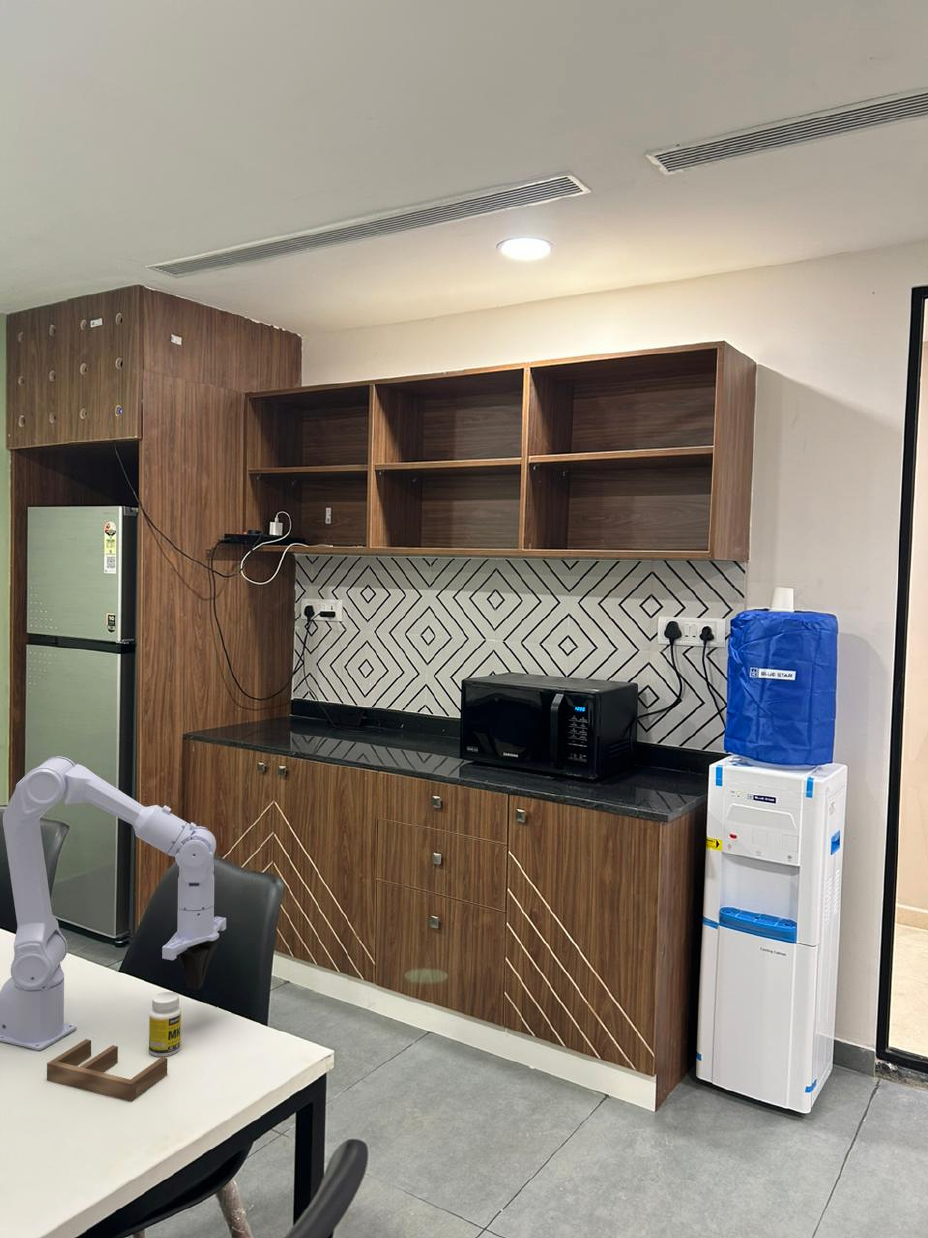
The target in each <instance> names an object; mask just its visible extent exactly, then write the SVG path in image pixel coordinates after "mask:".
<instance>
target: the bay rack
mask: <svg viewBox="0 0 928 1238" xmlns="http://www.w3.org/2000/svg"><path fill="white" fill-rule="evenodd" d="M90 1057H92V1040H91V1039H87V1038H85V1039H84V1040H82V1041H80V1042H78V1043H77V1044H76V1045H73V1047H71V1048H69V1049H68V1050H66V1051H64V1052H63V1053H61V1054H60V1055H58V1056H56V1057H55V1058H53V1059H51V1060H50V1061H47V1063H46V1081H48V1082H52V1083H57V1084H61V1085H64V1086H69V1087H71V1088H72V1087H73V1088H77V1089H80V1090H84V1091H88V1092H92V1093H96V1094H100V1095H103V1096H108V1097H111V1098H114V1099H118V1098H119V1100H121V1101H122V1100H124V1101H127V1102H130V1103H132V1102H133V1101H134V1100H136V1099H137V1098H138V1097H140V1096H141V1095H142V1094H144V1093H145V1092H146V1091H148V1090H149V1089H150V1088H152V1087H153V1086H154V1085H156V1083H158V1082H159V1081H161V1080H162V1079H163V1078H165V1077H166V1076H168V1057H166V1056H160V1057H159V1058H158V1059H157V1060H155V1061H154V1062H153V1063H151V1064H150V1065H148V1066H147V1067H145V1068H144V1069H143V1070H141V1071H140V1072H138V1074H136V1075H135V1076H133V1077H131V1078H130V1079H129V1078H125V1077H123V1076H118V1075H114V1074H109V1073H106V1072H107V1071H108V1070H109V1069H111V1068H112V1067H113V1066H116V1064H118V1063H119V1061H118V1060H119V1046H117V1045H113V1044H112V1045H111V1046H109V1047H107V1048H106V1049H105V1050H103V1051H101V1052H100V1053H98V1054H97V1055H96V1056H93V1057H92V1058H91V1059H89V1058H90ZM87 1059H89V1060H88V1061H86V1060H87ZM84 1061H86V1062H85V1063H83V1062H84ZM81 1063H83V1064H82V1065H80V1064H81ZM79 1065H80V1066H79Z"/></svg>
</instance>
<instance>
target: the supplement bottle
mask: <svg viewBox="0 0 928 1238" xmlns="http://www.w3.org/2000/svg"><path fill="white" fill-rule="evenodd" d="M151 999H152V1000H151V1001H152V1002H151V1007H152V1008H151V1009H150V1012H149V1018H148V1019H149V1021H148V1022H149V1024H148V1025H149V1026H148V1027H149V1028H148V1030H149V1031H148V1032H149V1033H148V1052H149V1054H151V1055H152V1056H155V1057H168V1056H169V1057H170V1056H173V1055H174V1054H176V1053H177V1052H178V1051H179V1050H180V1049H181V1037H182V1036H181V1034H182V1032H181V1030H182V1009H181V1006H180V996H179V994H178V993H177V992H175V991H174V992H172V991H164V992H160V993H157V994H155V995H154V996H153V997H152V998H151Z"/></svg>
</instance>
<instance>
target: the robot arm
mask: <svg viewBox="0 0 928 1238" xmlns="http://www.w3.org/2000/svg"><path fill="white" fill-rule="evenodd" d="M65 797H66V798H65ZM62 798H65V801H64V805H73V804H79V803H80V804H82V803H88V804H91V805H93V806H95V807H97V808H98V809H101V810H102V811H104V812H106V813H109V814H110V815H112V816H115V817H116V818H118V819H120V820H122V821H124V822H126V823H128V824H130V825H131V826H132V827H133V829H134V833H135V837H137V838H138V839H140V840H141V841H143V842H145V843H146V844H148V845H150V846H152V847H154V848H155V849H158V850H159V851H161V852H162V853H164V854H165V855H168V856H170V857H174V858H175V859H174V860H175V862H176V864H177V866H178V868H179V869H178V871H179V874H178V878H177V929H176V930H177V931H176V932H175V933H174V934H173V936H172V937H171V938H170V939H169V941H168V942H167V943H166V944H164V945H163V946H162V947H161V948H162V949H161V952H162V953H161V954H162V957H161V958H162V960H163V959H164V960H167V961H168V960H170V961H174V960H175V959H177V961H178V962H179V964H180V966H181V968H182V971H183V975H184V979H185V983H186V986H187V987H186V988H187V989H192V990H199V989H201V988H202V987H203V986H204V982H205V979H206V976H207V975H206V974H207V970H208V967H209V964H210V962H211V959H212V957H213V955H214V953H215V950H216V949H217V948H218V941H216V940H218V939H219V937H220V933H219V931H221V932H223V931H225V930H226V929H227V917H222V916H215V908H214V907H215V874H214V871H215V866H214V865H215V864H214V856H215V852H216V849H217V840H216V837H215V835H214V834H213V833H212V832H211V831H210V830H208V828H207V827H205V826H197V824H195V822H192V821H191V823H188V822H187V821H185V820H184V819H181V818H180V817H179V816H177V815H175V814H173V813H172V812H171V811H172V808H170V807H169V806H168V805H164V806H163V807H162V806H160V805H158V804H155V805H150V806H144V805H143V804H141V803H139V802H138V801H137V800H135V799H134V798H132V797H130V796H129V795H127V794H126V793H124V792H123V791H121V790H120V789H118V788H117V787H115V786H114V785H112V784H110V783H109V782H107V780H105V779H102V778H101V777H100V776H98V775H97V774H96V773H94V772H92V771H91V770H90V769H88V768H87V767H86V766H84V765H81V764H79V763H77V764H75V762H73V760H71V759H69V758H68V757H65V756H53V757H50V758H48V759H46V760H44V762H42V763H41V764H40V765H39V766H38V767H35V768H33V769H32V770H30V771H28V773H27V774H25V775H24V776H23V777H22V779H20V780H19V781H18V782H17V783H16V784H15V790H14V791H13V793H12V795H11V798H10V800H9V801H8V804H7V805H6V808H5V810H4V812H3V814H2V826H3V833H4V840H5V847H6V853H7V861H8V868H9V874H10V875H9V876H10V882H11V888H12V895H13V896H12V897H13V903H14V904H13V905H14V908H15V909H14V910H15V916H16V917H15V918H16V923H17V929H16V933H15V938H14V942H13V952H14V956H13V960H12V963H11V965H10V978H9V979H7V980H6V981H5V983H4V984H3V985H2V986H1V989H0V1042H3V1043H7V1044H12V1045H16V1046H20V1047H24V1048H29V1049H32V1050H36V1051H42V1050H43V1049H45V1048H47V1047H48V1046H50V1045H52V1044H53V1043H55V1042H57V1041H58V1040H60V1039H62V1038H63V1037H65V1036H67V1035H68V1034H71V1033H72V1032H74V1031H75V1030H77V1026H76V1025H75V1024H69V1023H65V1020H64V1018H65V973H64V971H63V968H62V966H61V963H62V961H64V959H65V958H66V956H67V954H68V949H69V947H68V942H67V939H66V937H65V936H64V935H63V934H62V932H61V930H60V928H59V926H60V925H59V922H58V921H59V920H57V918H56V917H55V916H54V914H53V910H52V903H51V896H50V889H49V882H48V881H49V880H48V874H47V867H46V860H45V853H44V845H43V839H42V832H41V831H42V830H41V824H40V819H41V818H43V817H44V815H45V814H46V813H47V812H48V811H49V809H51V807H53V806H54V805H56V804H58V803H59V802H60V801H61V800H62Z"/></svg>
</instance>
